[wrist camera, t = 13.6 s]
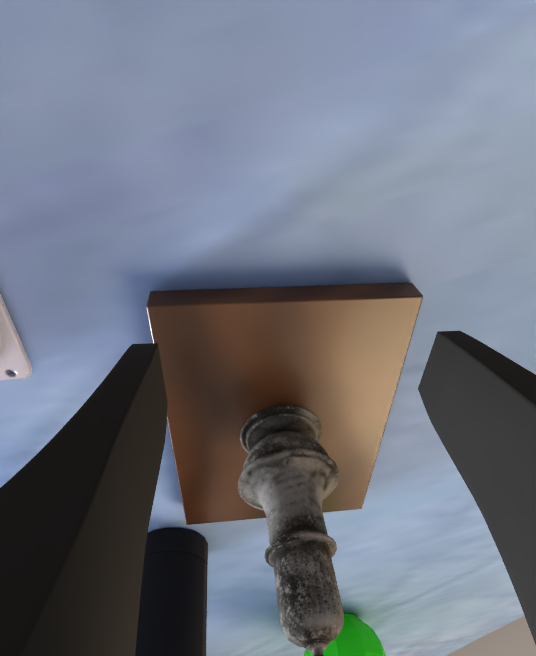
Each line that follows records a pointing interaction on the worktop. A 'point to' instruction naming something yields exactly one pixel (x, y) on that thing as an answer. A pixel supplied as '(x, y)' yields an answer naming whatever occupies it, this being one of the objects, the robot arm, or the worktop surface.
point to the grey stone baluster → (295, 519)
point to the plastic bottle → (353, 640)
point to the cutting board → (278, 379)
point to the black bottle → (173, 594)
